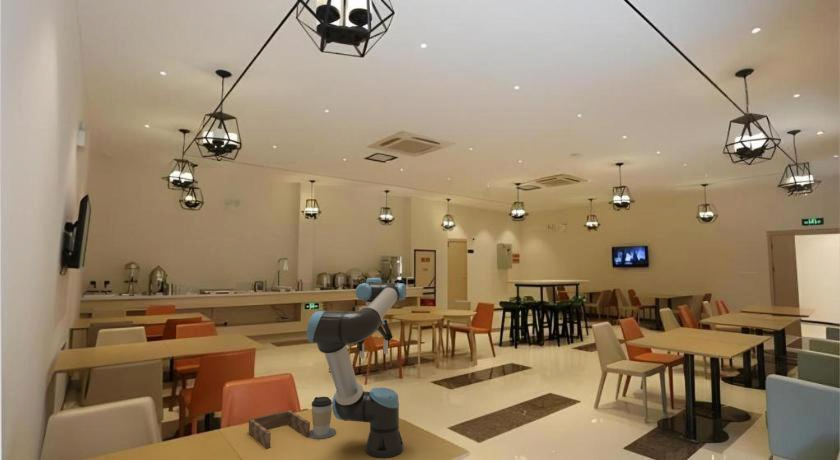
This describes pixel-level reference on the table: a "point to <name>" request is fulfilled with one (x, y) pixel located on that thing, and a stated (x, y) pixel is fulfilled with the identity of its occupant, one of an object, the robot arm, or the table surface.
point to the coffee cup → (321, 415)
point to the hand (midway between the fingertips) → (374, 355)
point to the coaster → (330, 434)
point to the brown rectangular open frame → (276, 425)
